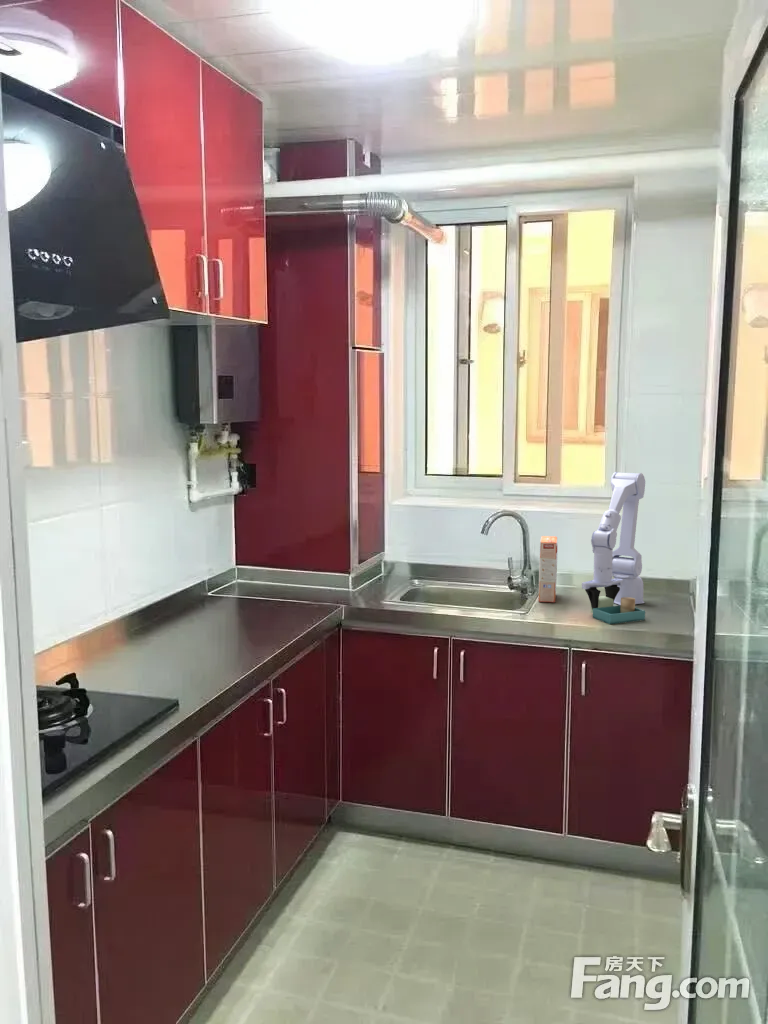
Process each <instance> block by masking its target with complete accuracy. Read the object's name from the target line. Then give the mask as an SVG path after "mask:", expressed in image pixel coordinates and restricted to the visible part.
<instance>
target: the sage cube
mask: <svg viewBox="0 0 768 1024" xmlns="http://www.w3.org/2000/svg"><path fill="white" fill-rule="evenodd" d="M610 606H614V603H613V599H611V598H608V597H606V595H602V596H601V595H599V599H598V608H601V607H610ZM590 613H591V614H593V610H592V607H591V606H590Z"/></svg>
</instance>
